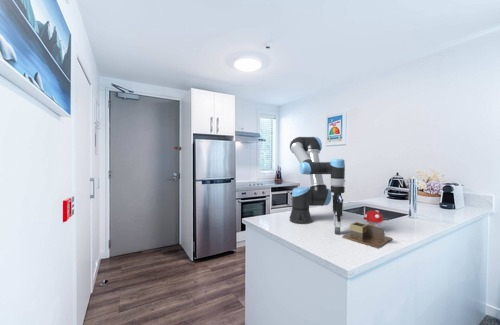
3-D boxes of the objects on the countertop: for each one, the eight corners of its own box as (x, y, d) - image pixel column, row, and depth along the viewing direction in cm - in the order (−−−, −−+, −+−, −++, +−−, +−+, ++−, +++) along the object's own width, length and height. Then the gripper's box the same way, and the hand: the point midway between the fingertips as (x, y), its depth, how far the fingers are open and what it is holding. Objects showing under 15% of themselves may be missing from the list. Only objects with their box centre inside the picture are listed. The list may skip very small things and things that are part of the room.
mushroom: (373, 234, 124) (373, 213, 123) (359, 228, 134) (359, 209, 134) (388, 232, 126) (388, 212, 126) (372, 226, 137) (372, 207, 137)
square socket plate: (342, 237, 118) (342, 224, 118) (358, 230, 129) (358, 218, 129) (377, 248, 104) (377, 233, 104) (392, 239, 115) (392, 225, 115)
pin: (333, 233, 124) (333, 211, 124) (336, 232, 126) (336, 210, 126) (338, 235, 122) (338, 212, 122) (341, 233, 124) (341, 211, 124)
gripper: (348, 187, 115) (348, 230, 116) (340, 184, 131) (340, 222, 131) (334, 187, 116) (334, 230, 116) (327, 183, 132) (327, 221, 132)
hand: (337, 226), depth 124 cm, fingers closed on pin, 3 cm apart
